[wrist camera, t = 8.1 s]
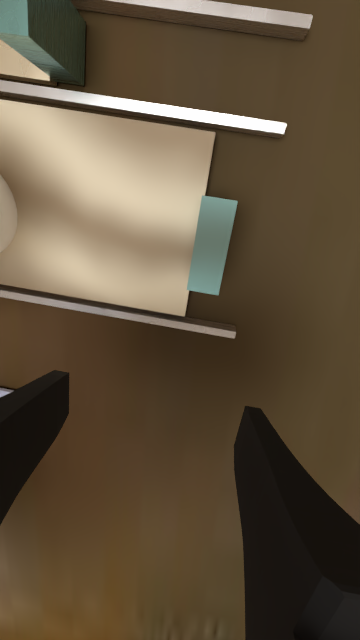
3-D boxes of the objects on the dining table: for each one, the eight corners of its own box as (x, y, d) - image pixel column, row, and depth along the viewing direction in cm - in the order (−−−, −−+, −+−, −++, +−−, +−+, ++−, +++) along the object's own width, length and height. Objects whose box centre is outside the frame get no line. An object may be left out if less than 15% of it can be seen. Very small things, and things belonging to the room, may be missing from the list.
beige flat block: (207, 316, 21) (206, 353, 16) (-96, 263, 22) (-190, 281, 17) (243, 139, 17) (256, 113, 12) (-132, 82, 18) (-269, 34, 13)
